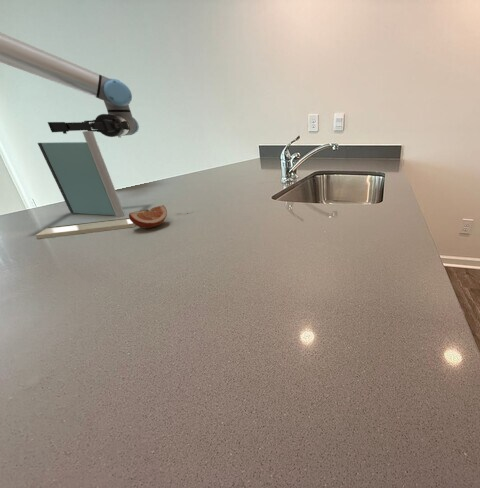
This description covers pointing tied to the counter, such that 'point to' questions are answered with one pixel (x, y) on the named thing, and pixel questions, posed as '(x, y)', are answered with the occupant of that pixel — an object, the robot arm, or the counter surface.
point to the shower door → (77, 177)
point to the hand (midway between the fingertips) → (78, 126)
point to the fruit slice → (149, 217)
